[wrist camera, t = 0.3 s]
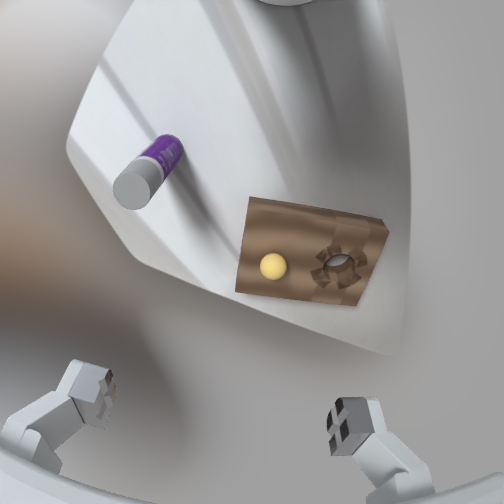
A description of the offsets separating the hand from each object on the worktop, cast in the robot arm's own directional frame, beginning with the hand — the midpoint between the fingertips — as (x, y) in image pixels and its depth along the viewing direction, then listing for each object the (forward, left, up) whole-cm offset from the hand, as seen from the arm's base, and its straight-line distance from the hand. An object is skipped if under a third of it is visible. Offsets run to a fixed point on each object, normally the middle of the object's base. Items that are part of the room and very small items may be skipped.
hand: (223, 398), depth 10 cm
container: (+5, -12, -39) cm, 41 cm away
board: (+19, +12, -39) cm, 45 cm away
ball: (+19, +6, -33) cm, 38 cm away
